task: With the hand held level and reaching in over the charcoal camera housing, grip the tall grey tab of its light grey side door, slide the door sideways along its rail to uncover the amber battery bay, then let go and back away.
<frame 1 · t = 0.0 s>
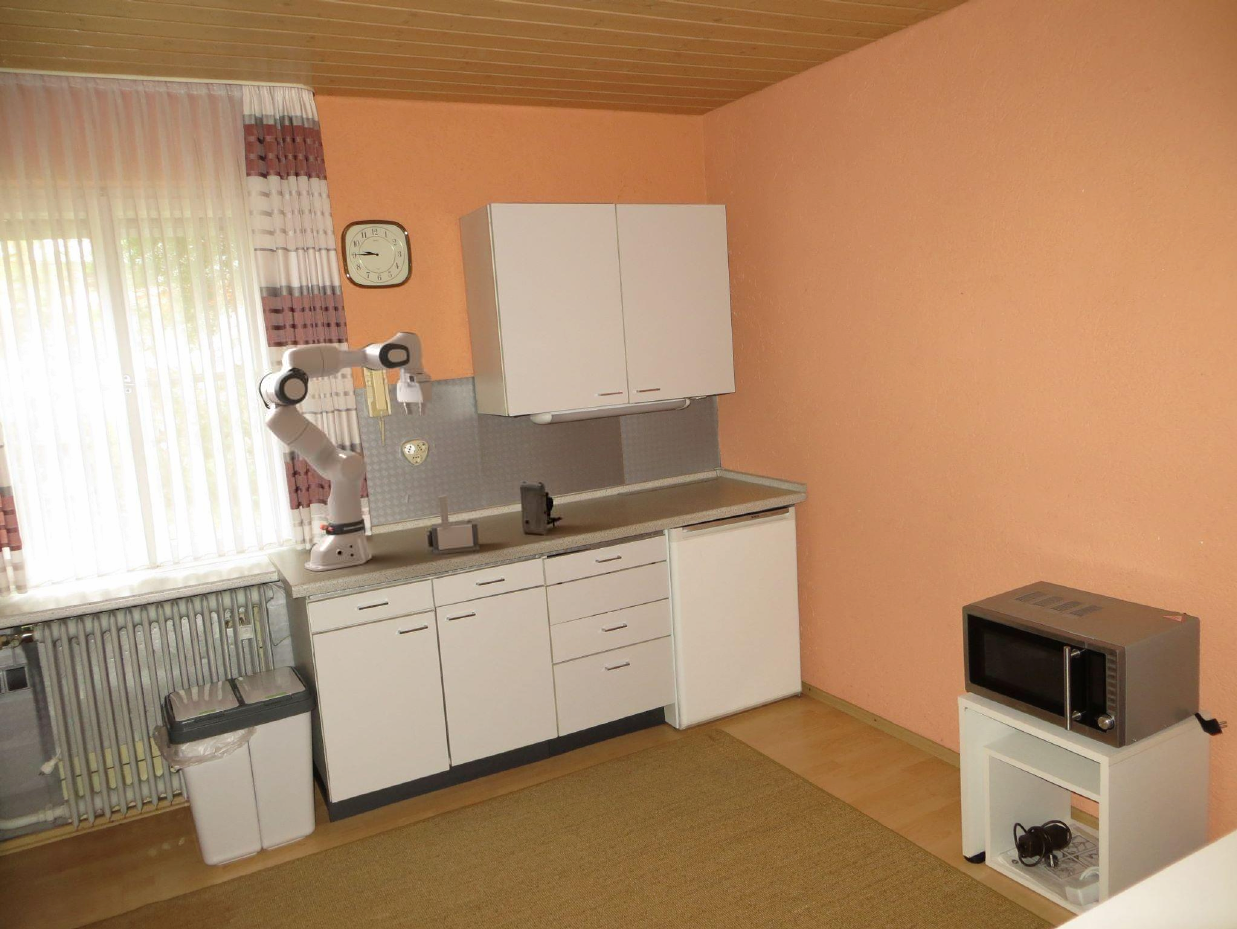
hand: (415, 414, 329), 48 cm above the counter, fingers open, 8 cm apart
camera housing: (456, 548, 323), on the counter
side door: (453, 521, 316), point 11 cm above the counter, slide at 0.0 cm
vintage camera: (544, 531, 343), on the counter
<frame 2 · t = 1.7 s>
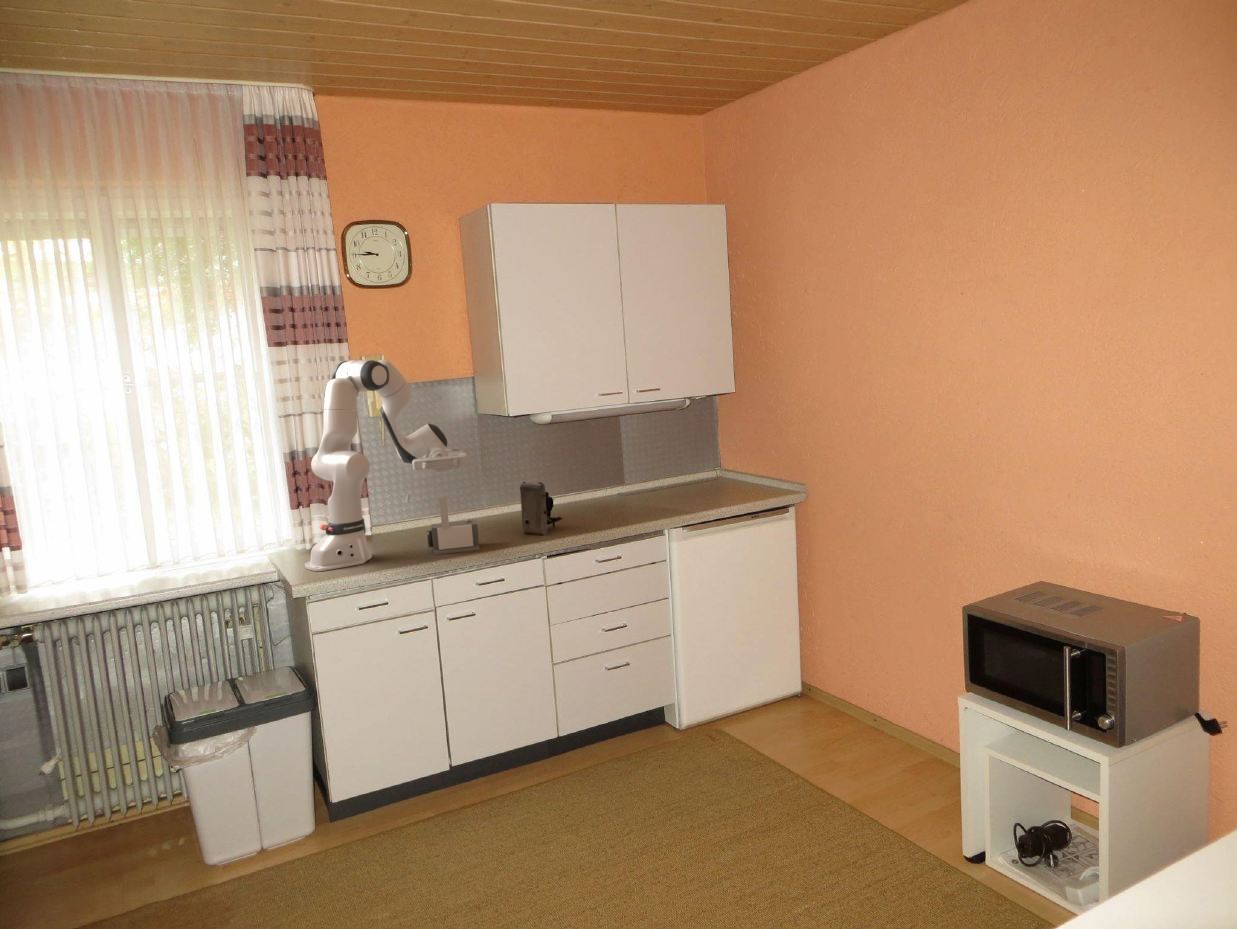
hand: (440, 465, 325), 30 cm above the counter, fingers open, 8 cm apart
nothing on the counter moved.
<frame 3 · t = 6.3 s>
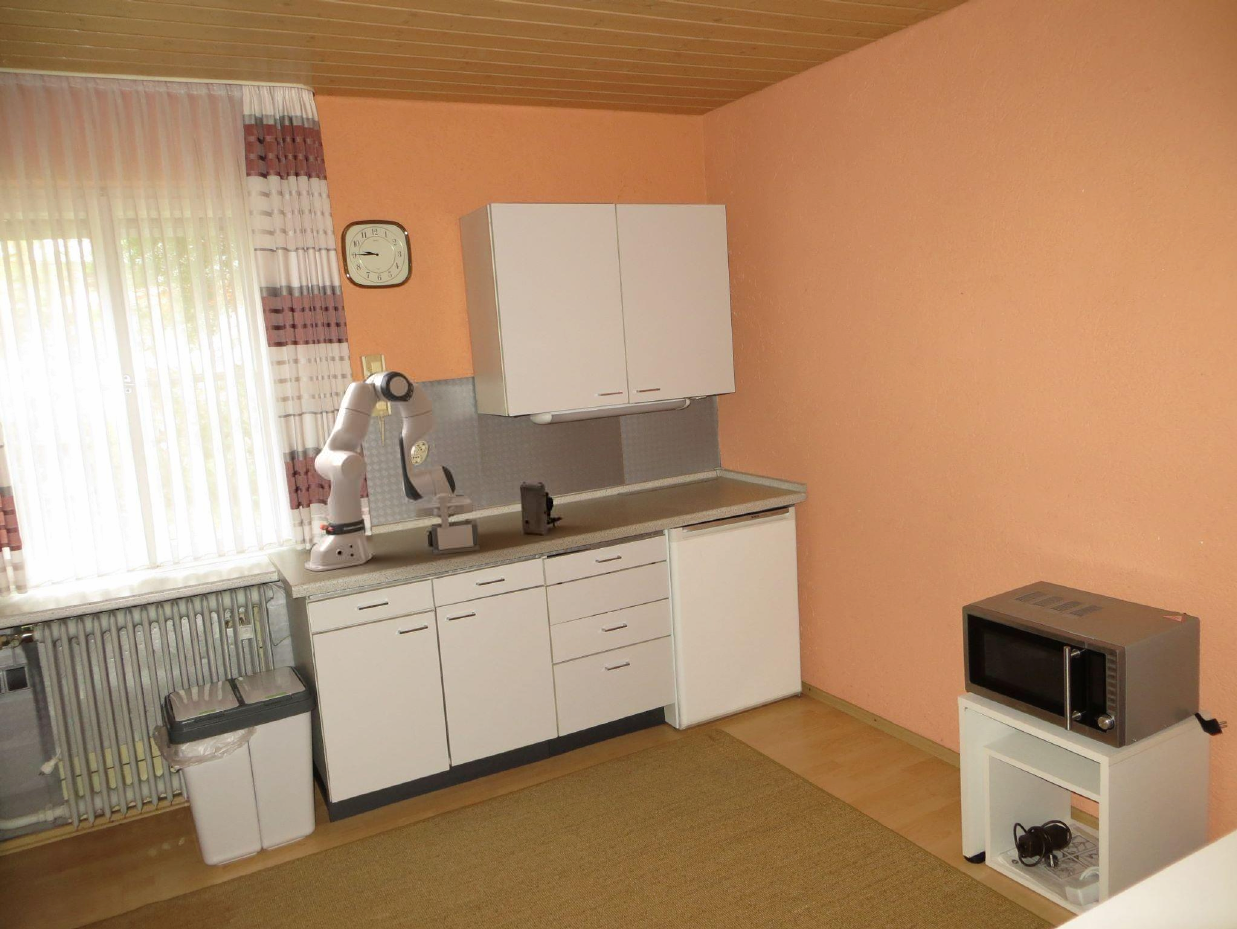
hand: (444, 512, 315), 15 cm above the counter, fingers closed on side door, 2 cm apart
side door: (453, 521, 316), point 11 cm above the counter, slide at 0.0 cm, touching gripper
everything else where it was.
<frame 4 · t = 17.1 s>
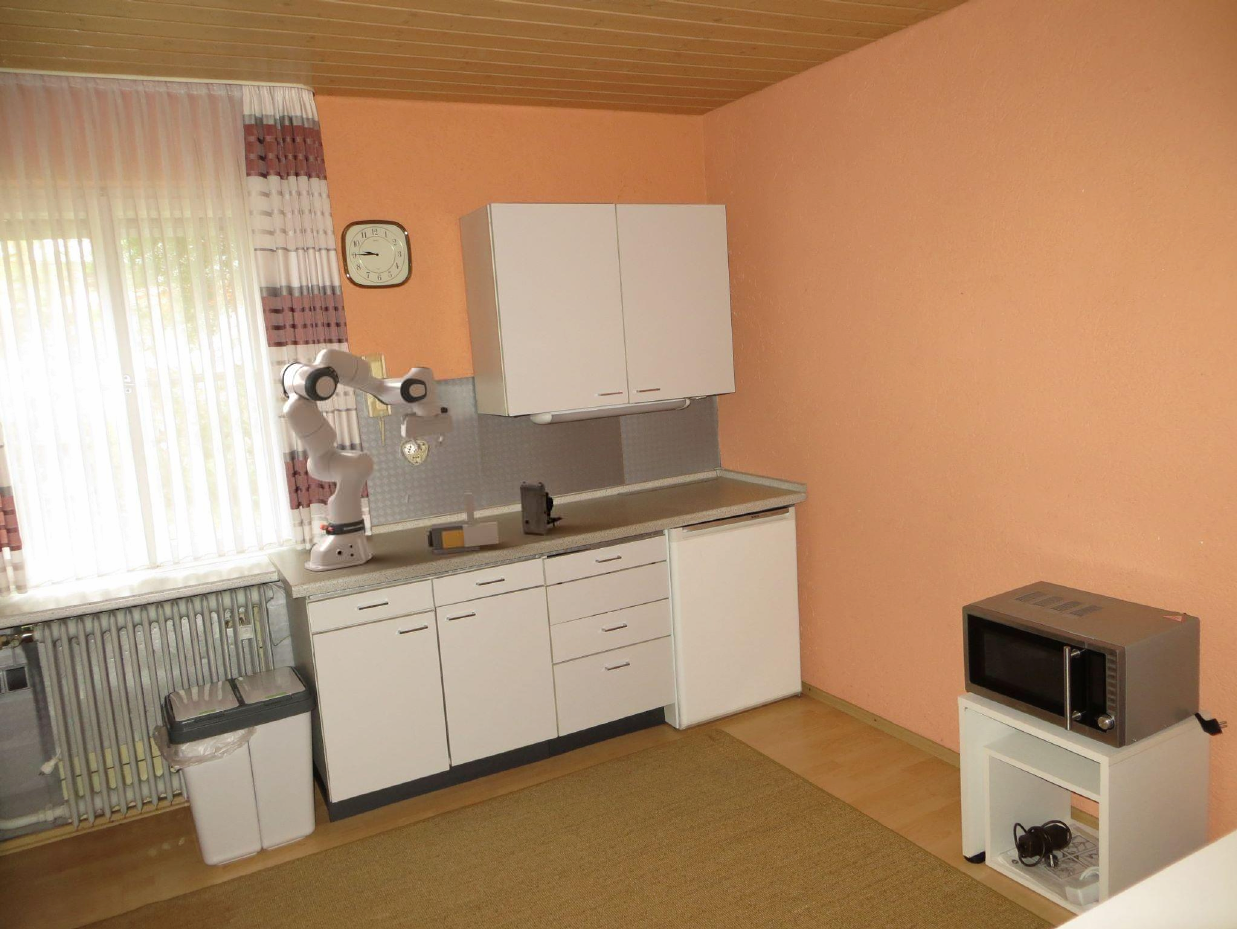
hand: (429, 447, 336), 35 cm above the counter, fingers open, 8 cm apart
side door: (479, 518, 318), point 11 cm above the counter, slide at 8.9 cm
everything else where it was.
at the end: side door slide at 8.9 cm; the gripper is holding nothing; vintage camera moved 0.3 cm from its start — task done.
